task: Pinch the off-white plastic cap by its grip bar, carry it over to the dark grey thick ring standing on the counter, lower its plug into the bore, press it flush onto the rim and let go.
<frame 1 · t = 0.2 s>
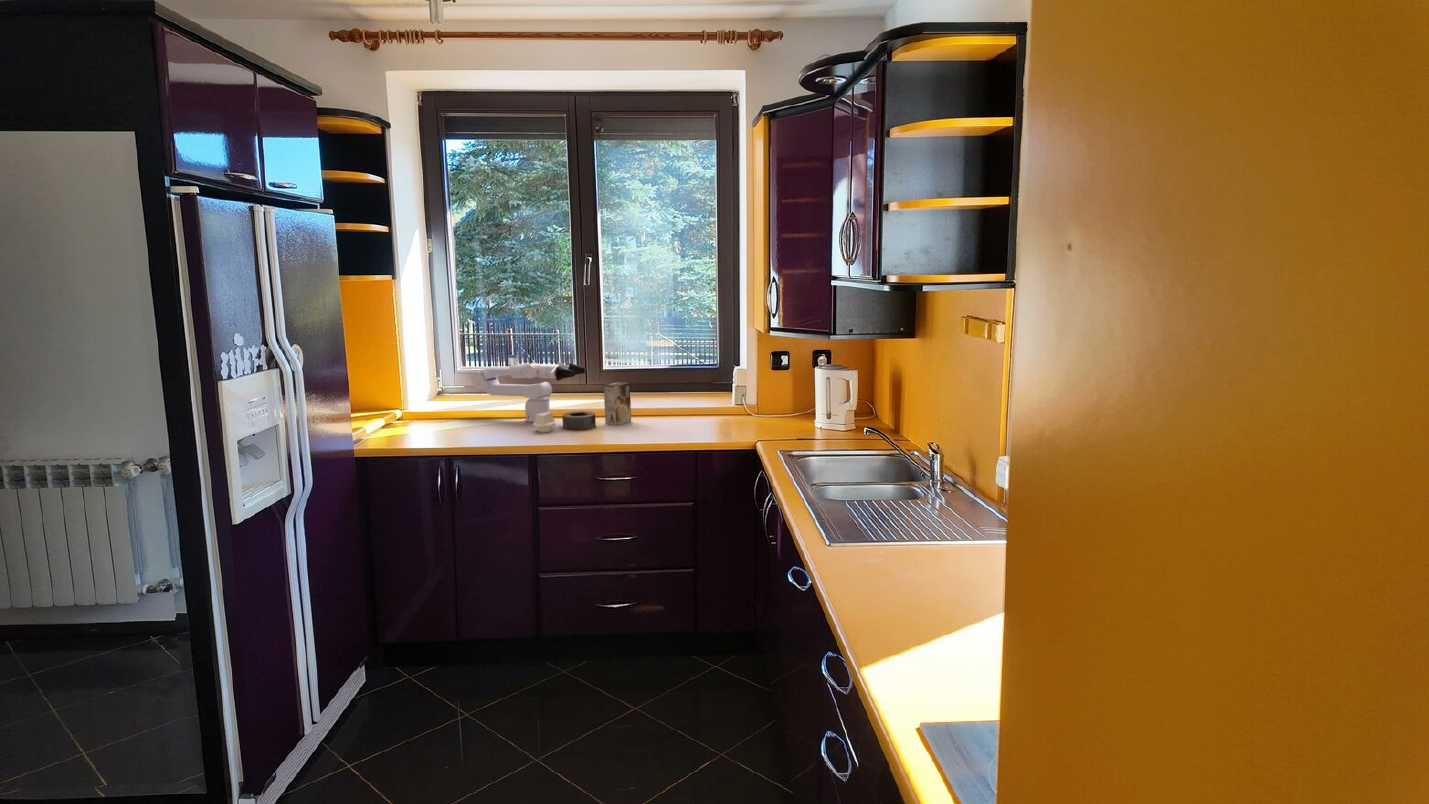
hand: (579, 372, 333), 21 cm above the worktop, tool horizontal, fingers open, 7 cm apart
cap: (544, 430, 326), on the worktop
coffee box: (618, 423, 340), on the worktop
dark grey thick ring: (579, 426, 333), on the worktop
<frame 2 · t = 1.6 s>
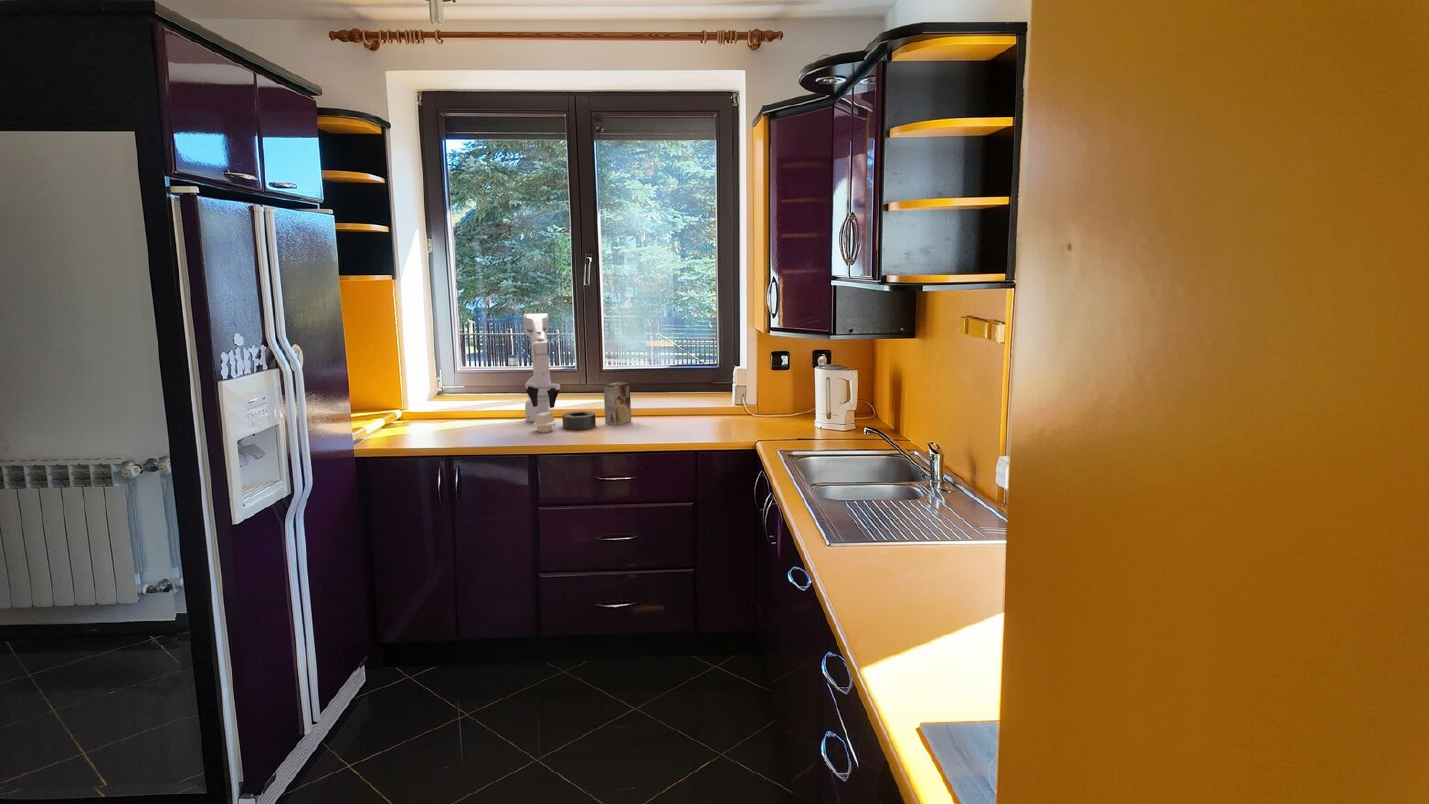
hand: (543, 407, 324), 9 cm above the worktop, tool pointing down, fingers open, 7 cm apart
nothing on the worktop moved.
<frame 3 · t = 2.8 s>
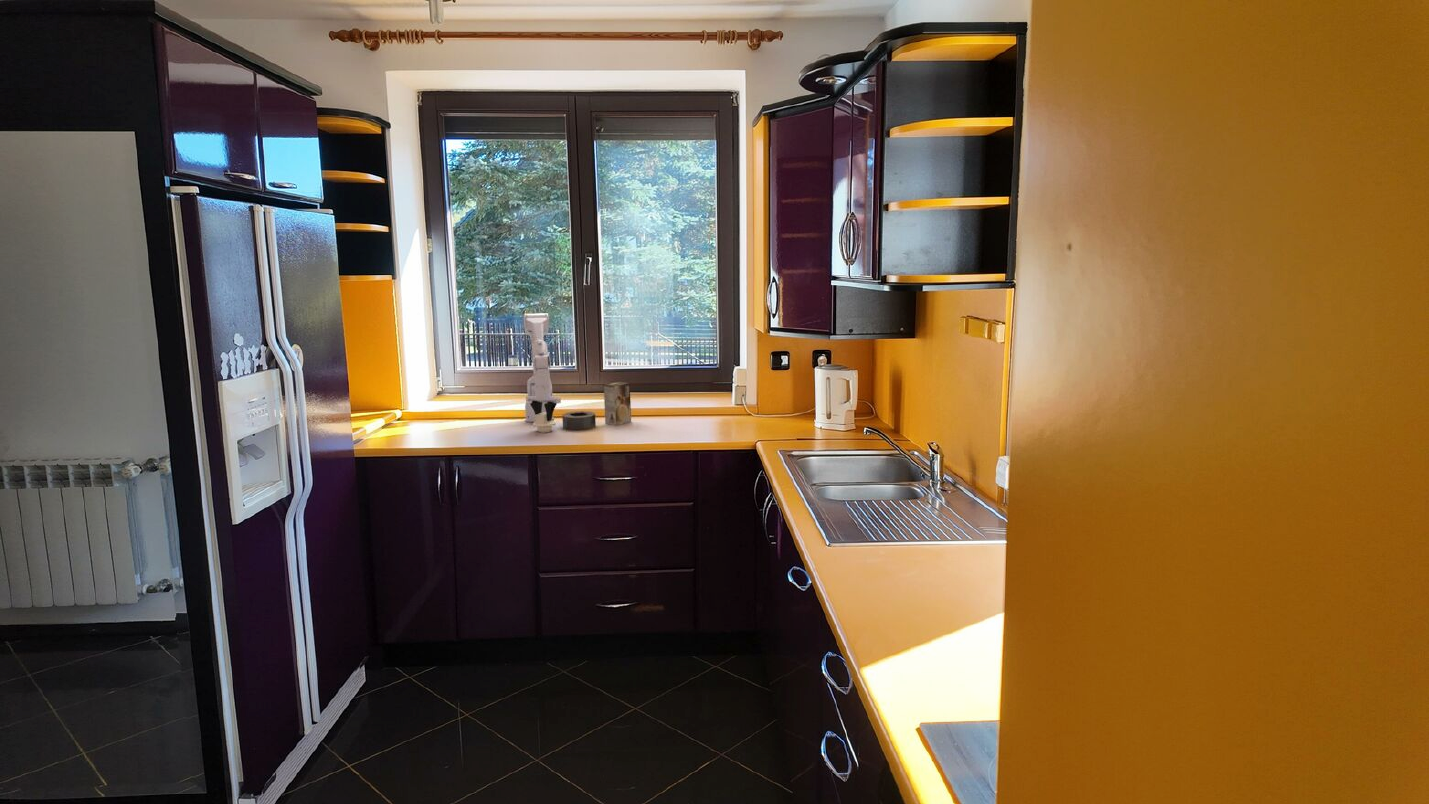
hand: (544, 420, 325), 4 cm above the worktop, tool pointing down, fingers closed on cap, 4 cm apart
cap: (544, 430, 326), on the worktop, touching gripper
everything else where it was.
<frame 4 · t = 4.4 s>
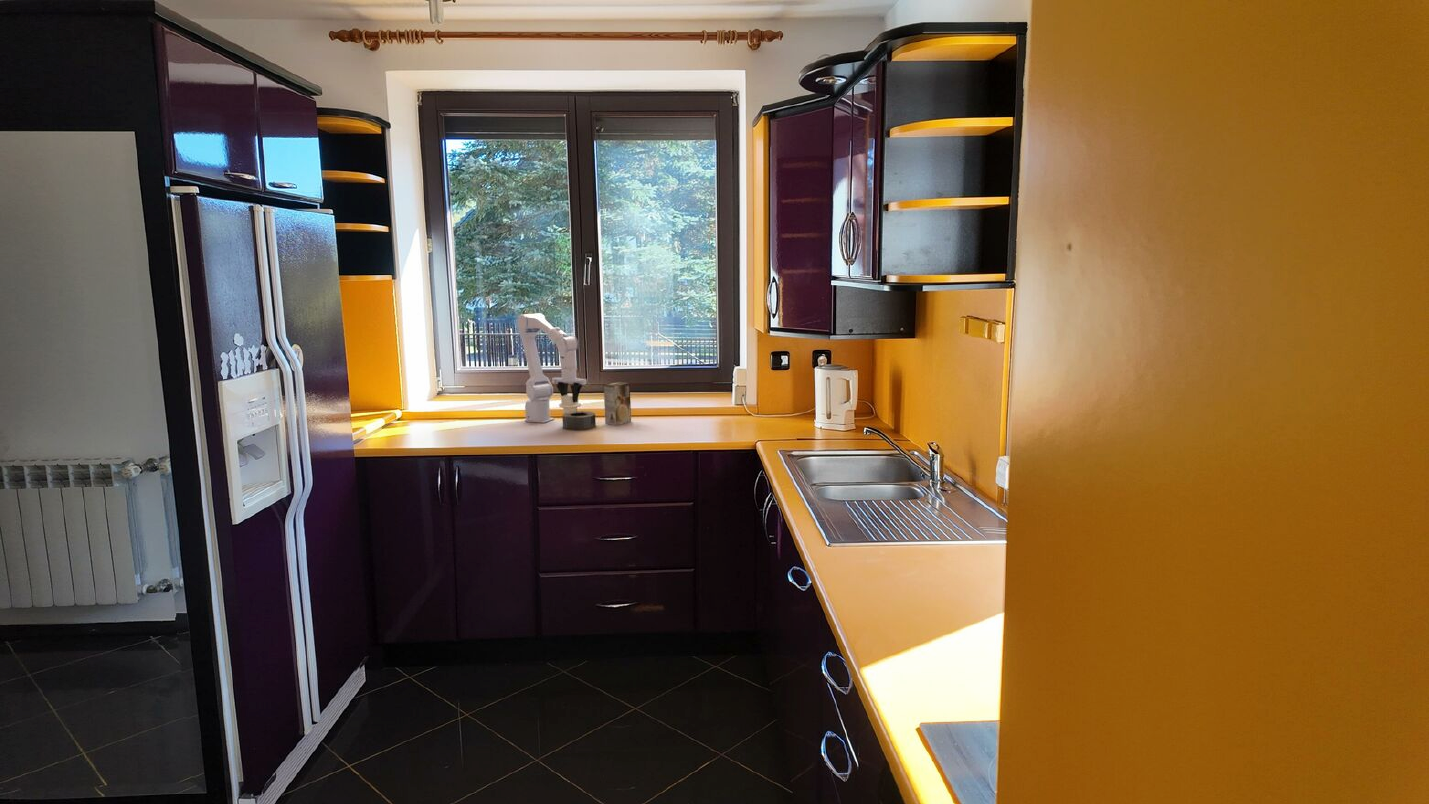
hand: (570, 401, 329), 10 cm above the worktop, tool pointing down, fingers closed on cap, 4 cm apart
cap: (570, 412, 330), point 6 cm above the worktop, touching gripper
everything else where it was.
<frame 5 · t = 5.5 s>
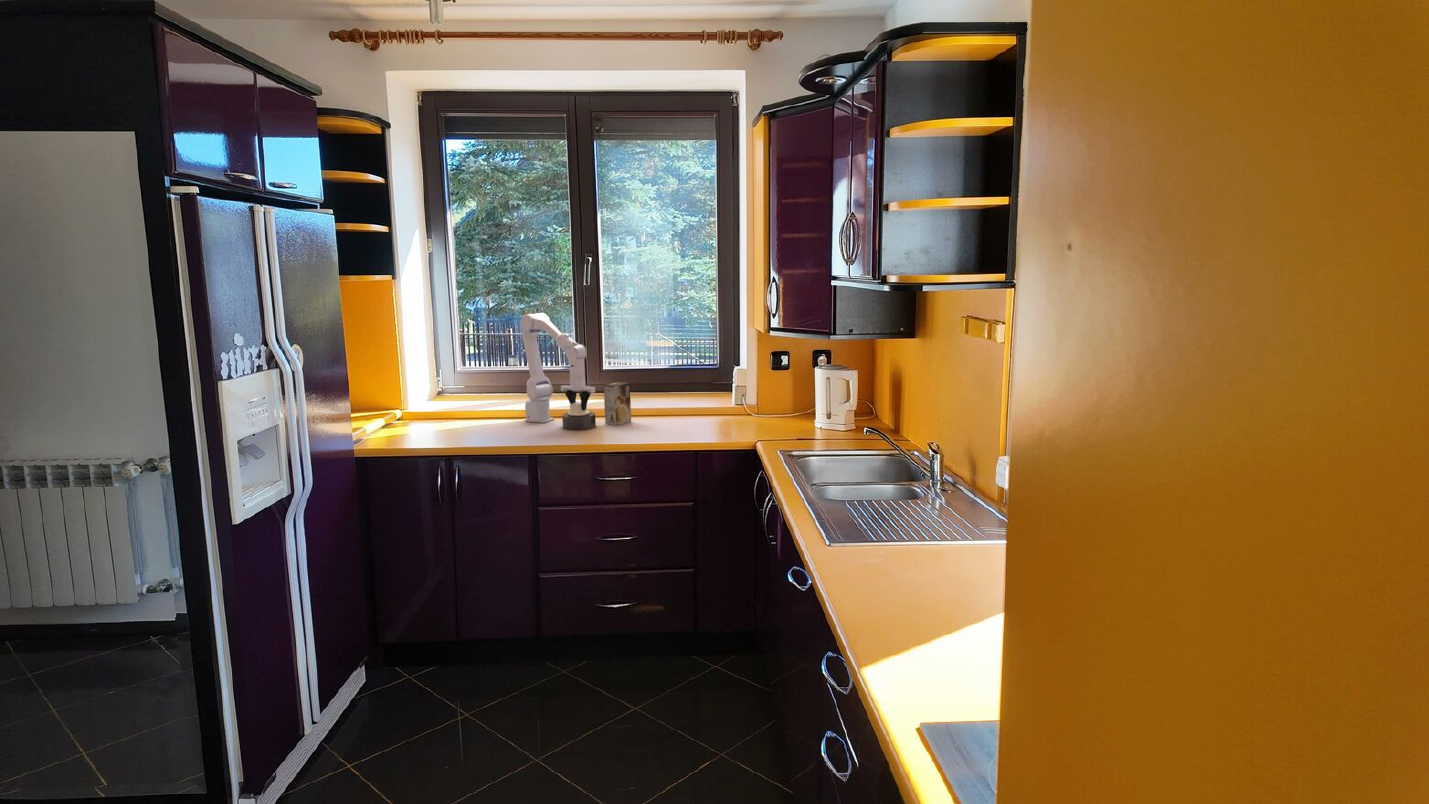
hand: (578, 409, 331), 7 cm above the worktop, tool pointing down, fingers closed on cap, 4 cm apart
cap: (579, 420, 332), point 3 cm above the worktop, touching gripper
everything else where it was.
when the fingers open (6 cm above the worktop, at t = 6.0 s): cap stays where it is, resting on dark grey thick ring.
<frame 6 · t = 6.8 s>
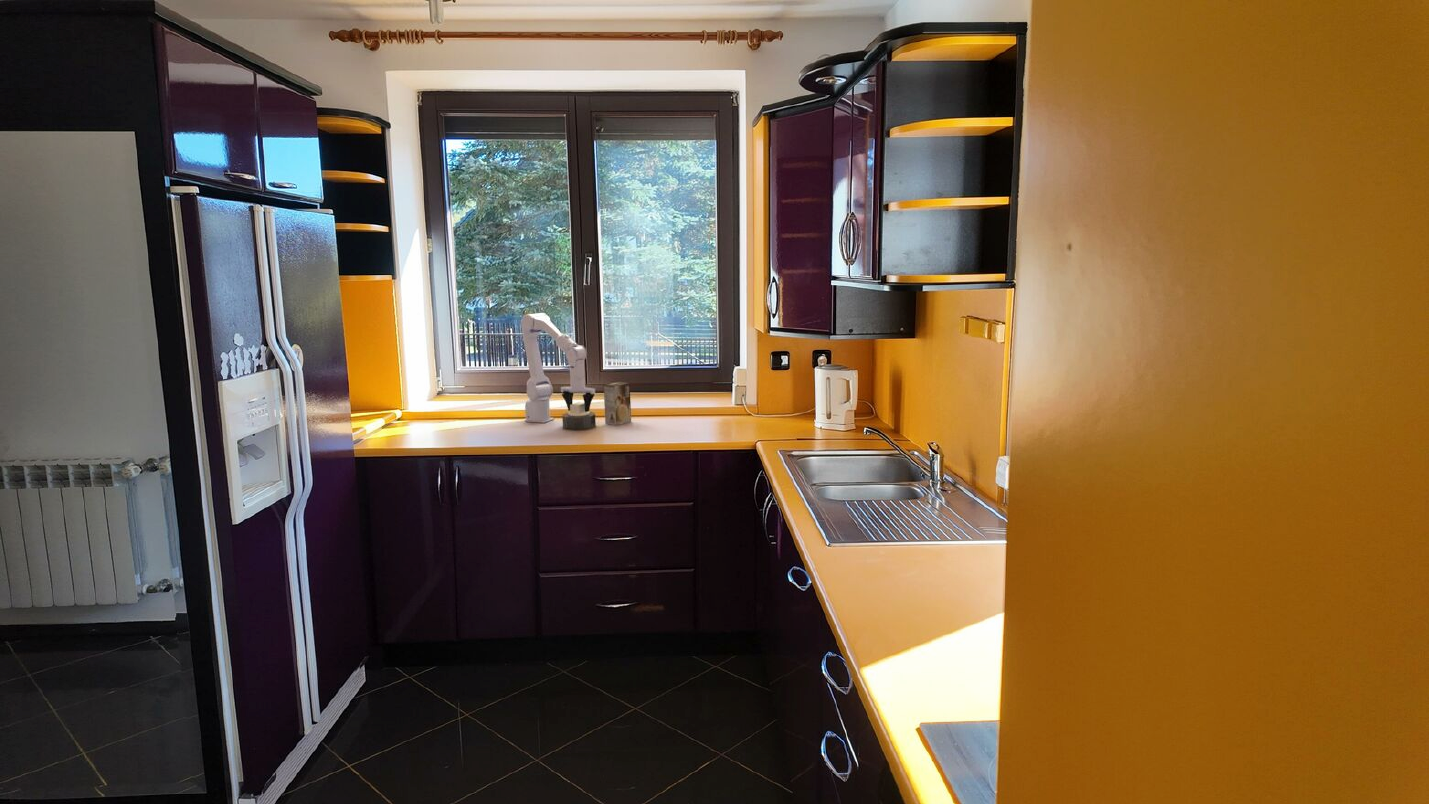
hand: (578, 410, 331), 6 cm above the worktop, tool pointing down, fingers open, 7 cm apart
cap: (579, 420, 332), point 2 cm above the worktop, touching dark grey thick ring
everything else where it was.
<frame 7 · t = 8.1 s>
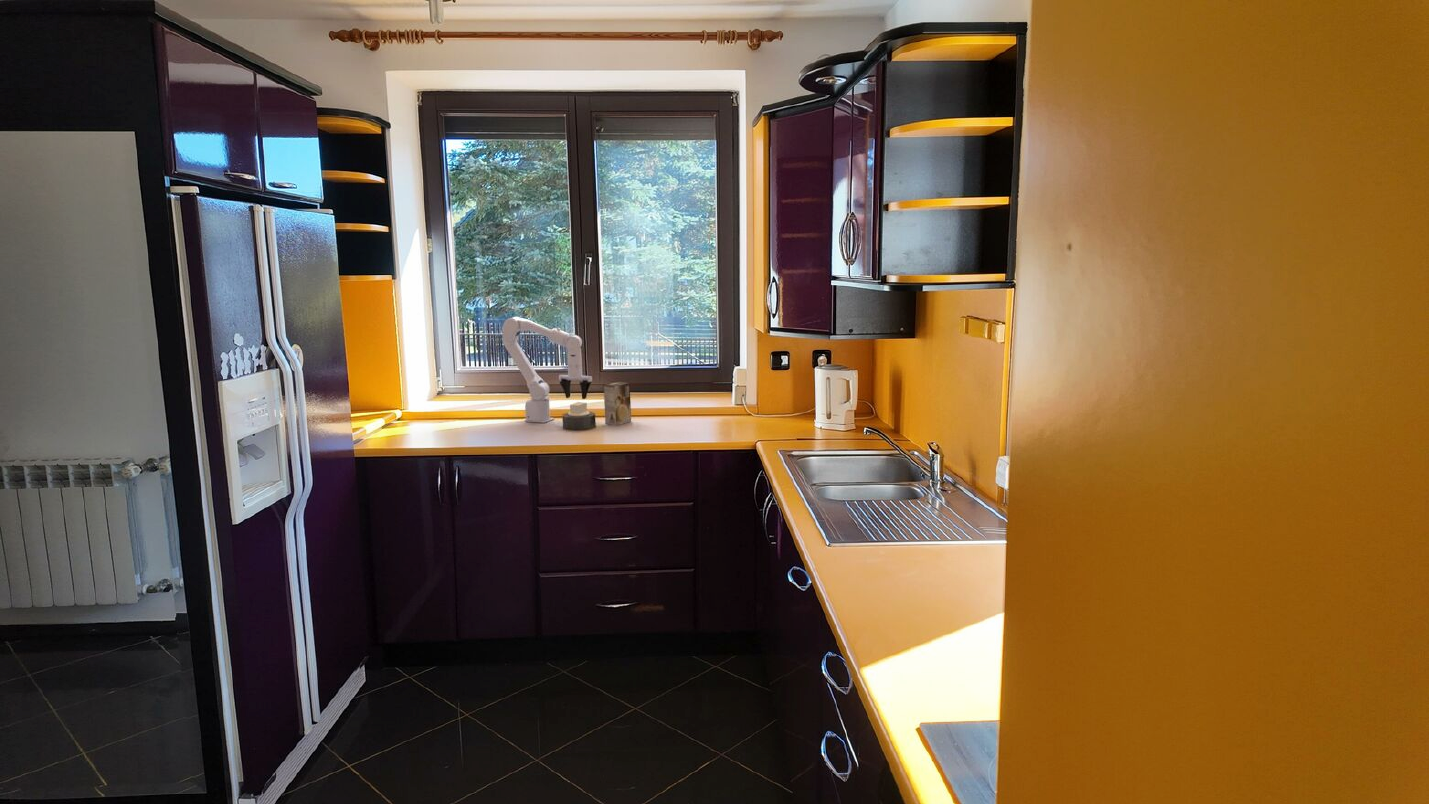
hand: (576, 398, 343), 9 cm above the worktop, tool pointing down, fingers open, 7 cm apart
nothing on the worktop moved.
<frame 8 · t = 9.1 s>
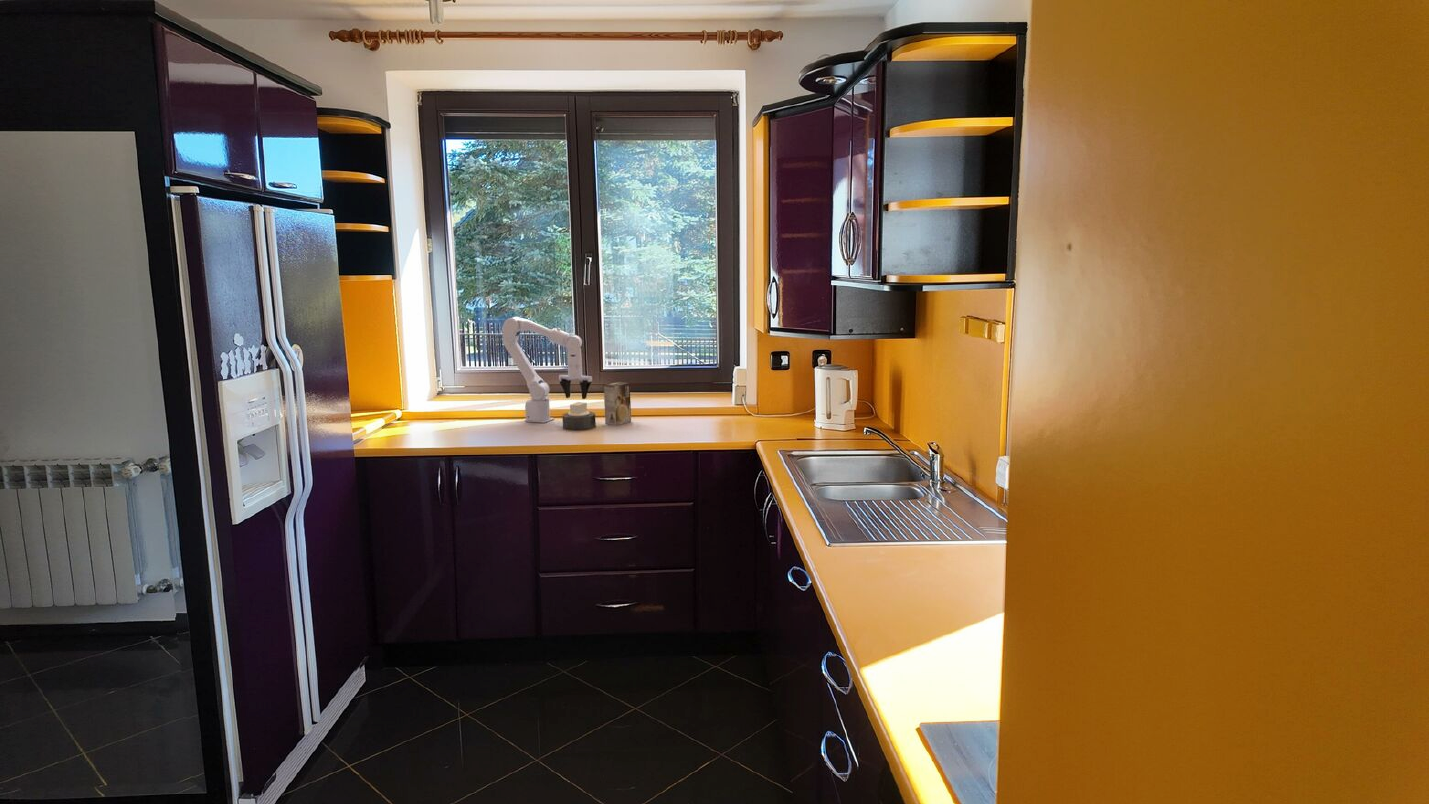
hand: (576, 398, 343), 9 cm above the worktop, tool pointing down, fingers open, 7 cm apart
nothing on the worktop moved.
at the end: cap 0.1 cm off-centre on the dark grey thick ring, point 2.5 cm above the dark grey thick ring's base; cap tilted 0°; the gripper is holding nothing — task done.
